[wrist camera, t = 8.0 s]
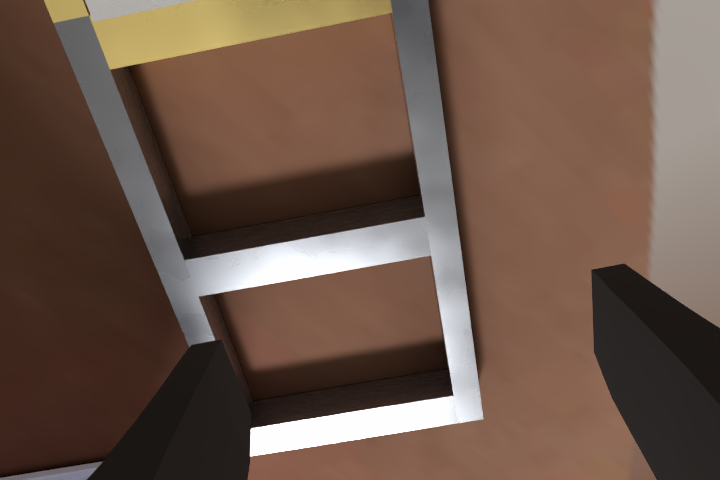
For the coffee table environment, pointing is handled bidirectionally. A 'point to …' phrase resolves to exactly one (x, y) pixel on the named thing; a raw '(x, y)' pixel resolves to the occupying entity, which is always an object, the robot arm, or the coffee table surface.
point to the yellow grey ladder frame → (292, 236)
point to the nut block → (125, 7)
